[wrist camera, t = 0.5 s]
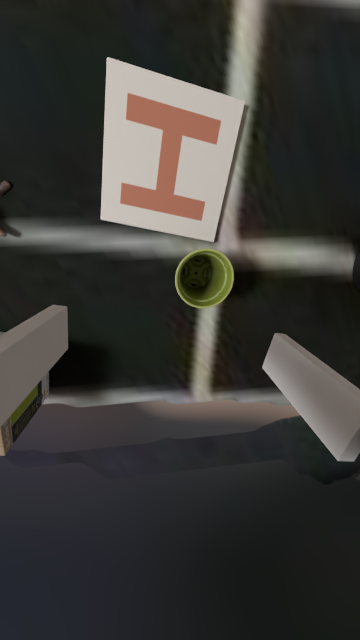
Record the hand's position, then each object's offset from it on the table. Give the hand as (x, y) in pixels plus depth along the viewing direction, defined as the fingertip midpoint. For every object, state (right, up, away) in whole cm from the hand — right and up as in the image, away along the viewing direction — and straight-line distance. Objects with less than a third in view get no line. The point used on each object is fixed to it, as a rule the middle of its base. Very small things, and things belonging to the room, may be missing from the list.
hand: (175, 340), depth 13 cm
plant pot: (+3, +11, +27) cm, 29 cm away
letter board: (-2, +27, +20) cm, 33 cm away
